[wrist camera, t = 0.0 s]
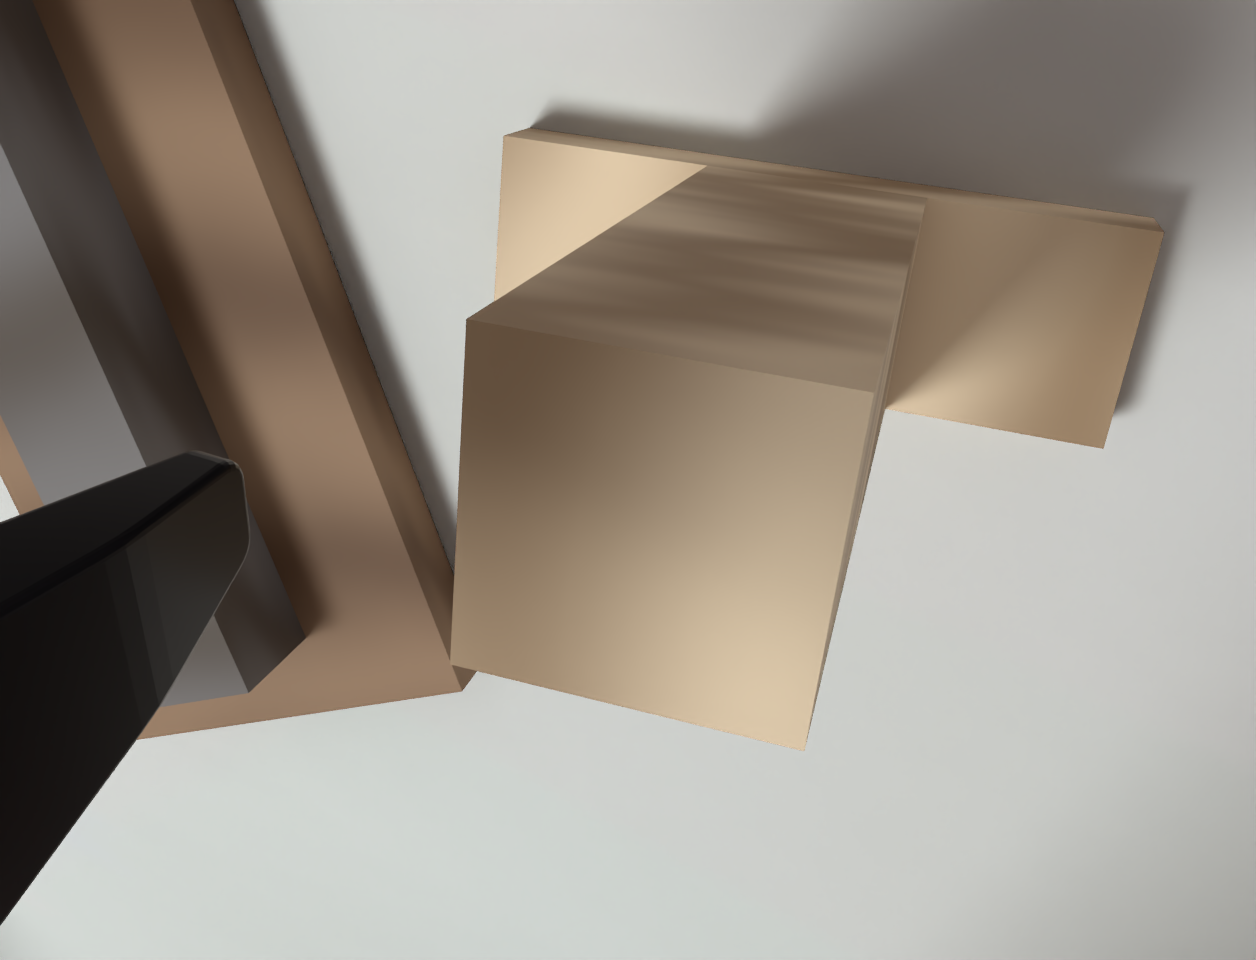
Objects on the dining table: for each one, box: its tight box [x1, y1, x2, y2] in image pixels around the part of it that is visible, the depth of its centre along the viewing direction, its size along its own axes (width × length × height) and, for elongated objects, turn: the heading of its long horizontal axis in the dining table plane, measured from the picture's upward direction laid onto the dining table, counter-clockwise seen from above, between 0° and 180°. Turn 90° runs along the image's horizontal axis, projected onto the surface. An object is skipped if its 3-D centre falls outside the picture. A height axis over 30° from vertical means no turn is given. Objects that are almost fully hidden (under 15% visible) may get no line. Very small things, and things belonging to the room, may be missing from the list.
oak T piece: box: [450, 128, 1164, 751], centre depth 18 cm, size 12×4×13 cm, turn 84°
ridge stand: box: [0, 0, 477, 740], centre depth 26 cm, size 20×10×4 cm, turn 18°
